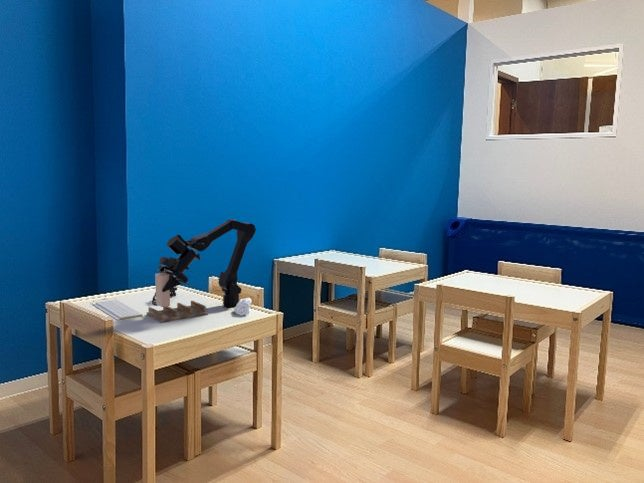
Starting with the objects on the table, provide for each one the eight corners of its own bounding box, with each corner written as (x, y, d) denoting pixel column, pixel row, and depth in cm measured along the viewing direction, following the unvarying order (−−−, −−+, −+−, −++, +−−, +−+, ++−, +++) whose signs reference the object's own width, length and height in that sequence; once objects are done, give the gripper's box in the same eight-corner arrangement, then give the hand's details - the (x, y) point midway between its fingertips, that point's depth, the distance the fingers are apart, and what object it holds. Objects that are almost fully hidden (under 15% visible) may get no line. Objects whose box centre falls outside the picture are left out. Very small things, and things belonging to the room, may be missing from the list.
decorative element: (160, 306, 246) (160, 293, 245) (150, 305, 246) (149, 293, 246) (178, 295, 268) (178, 283, 267) (169, 294, 269) (169, 283, 268)
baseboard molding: (114, 322, 220) (142, 317, 228) (113, 315, 220) (142, 311, 228) (89, 306, 244) (116, 303, 252) (89, 300, 244) (116, 296, 251)
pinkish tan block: (163, 303, 230) (163, 272, 228) (170, 305, 226) (169, 275, 224) (156, 304, 228) (155, 273, 226) (161, 307, 223) (161, 276, 222)
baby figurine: (240, 308, 245) (251, 294, 244) (251, 324, 237) (262, 309, 236) (226, 303, 239) (237, 288, 238) (236, 319, 231) (248, 303, 230)
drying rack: (191, 307, 244) (191, 299, 243) (208, 314, 233) (208, 306, 232) (146, 314, 230) (146, 306, 230) (161, 322, 219) (161, 314, 219)
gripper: (161, 246, 233) (136, 274, 228) (180, 252, 219) (155, 282, 213) (178, 262, 239) (155, 290, 234) (198, 269, 225) (174, 298, 220)
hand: (159, 290), depth 225 cm, fingers closed on pinkish tan block, 6 cm apart
